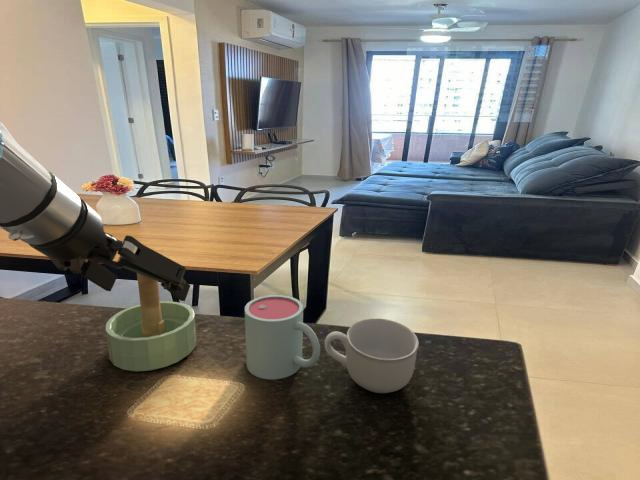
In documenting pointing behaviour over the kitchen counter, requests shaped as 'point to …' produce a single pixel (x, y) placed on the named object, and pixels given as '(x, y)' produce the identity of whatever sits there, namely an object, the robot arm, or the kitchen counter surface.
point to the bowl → (151, 338)
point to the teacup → (377, 354)
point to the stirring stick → (150, 307)
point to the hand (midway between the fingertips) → (148, 288)
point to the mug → (277, 337)
